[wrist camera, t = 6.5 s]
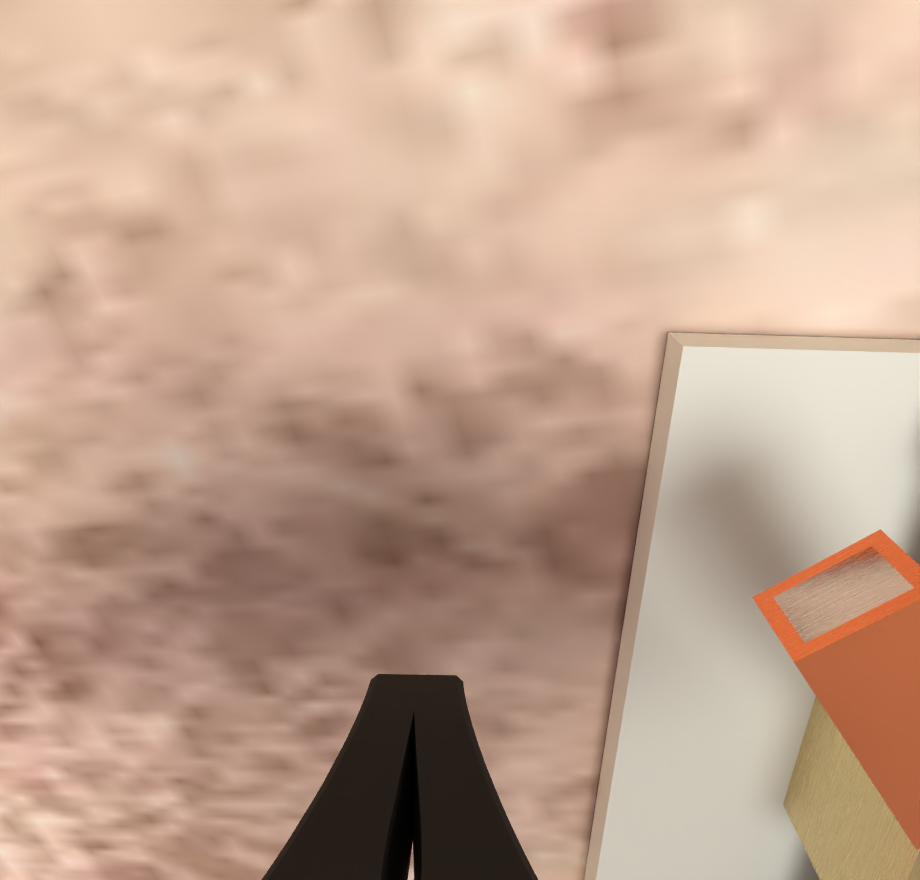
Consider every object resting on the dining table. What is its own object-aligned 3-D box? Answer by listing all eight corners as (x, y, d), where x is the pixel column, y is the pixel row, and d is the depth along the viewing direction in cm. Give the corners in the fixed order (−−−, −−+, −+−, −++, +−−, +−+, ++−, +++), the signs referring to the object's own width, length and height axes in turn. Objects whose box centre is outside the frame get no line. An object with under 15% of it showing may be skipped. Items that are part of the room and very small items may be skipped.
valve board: (1010, 960, 22) (1034, 995, 22) (572, 956, 22) (577, 991, 21) (1346, 352, 15) (1406, 367, 14) (668, 332, 14) (683, 346, 13)
